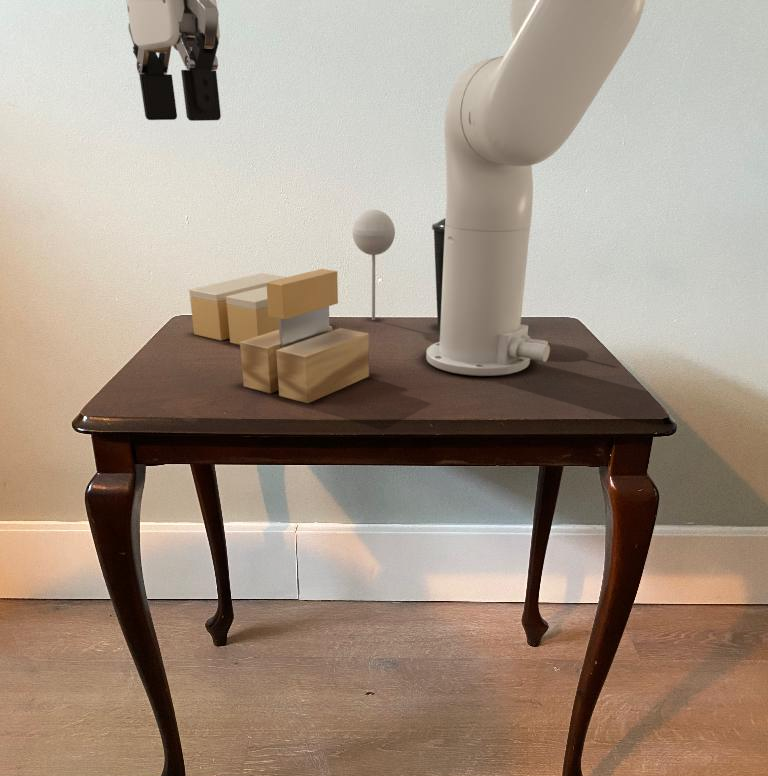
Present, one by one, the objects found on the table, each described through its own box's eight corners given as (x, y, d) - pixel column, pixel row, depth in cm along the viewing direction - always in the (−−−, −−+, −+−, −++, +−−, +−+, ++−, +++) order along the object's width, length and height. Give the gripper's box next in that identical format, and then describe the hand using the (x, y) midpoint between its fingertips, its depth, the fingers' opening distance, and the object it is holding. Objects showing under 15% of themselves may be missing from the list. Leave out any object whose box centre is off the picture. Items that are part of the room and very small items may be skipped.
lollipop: (389, 326, 104) (390, 213, 96) (348, 323, 105) (347, 211, 97) (397, 315, 109) (399, 207, 102) (358, 313, 110) (357, 206, 103)
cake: (327, 326, 103) (326, 283, 100) (259, 349, 93) (255, 301, 90) (264, 314, 109) (261, 272, 106) (194, 334, 99) (188, 289, 96)
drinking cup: (485, 335, 100) (497, 175, 90) (429, 335, 100) (435, 174, 90) (479, 321, 106) (490, 170, 97) (426, 321, 106) (432, 170, 97)
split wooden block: (369, 376, 84) (369, 333, 82) (307, 403, 76) (305, 356, 74) (307, 362, 89) (305, 321, 86) (243, 386, 81) (239, 341, 78)
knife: (339, 373, 85) (337, 270, 80) (288, 394, 79) (282, 284, 73) (325, 369, 86) (321, 268, 81) (273, 390, 80) (266, 282, 74)
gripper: (240, -120, 59) (259, 120, 67) (155, -81, 71) (180, 119, 79) (152, -136, 55) (184, 121, 63) (77, -92, 67) (112, 120, 75)
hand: (182, 119), depth 71 cm, fingers open, 9 cm apart
